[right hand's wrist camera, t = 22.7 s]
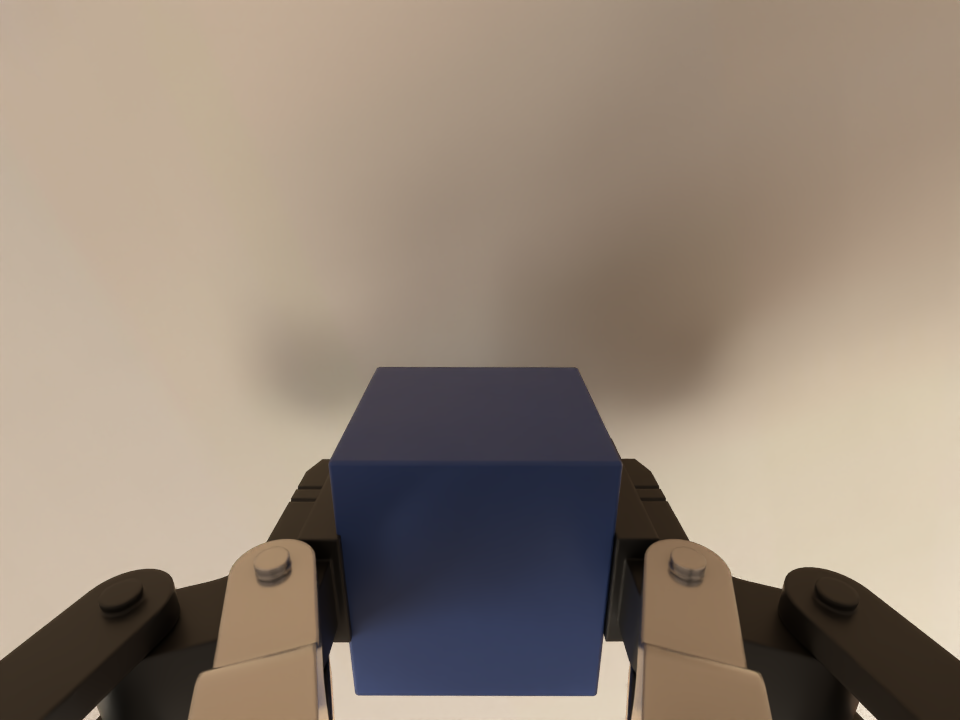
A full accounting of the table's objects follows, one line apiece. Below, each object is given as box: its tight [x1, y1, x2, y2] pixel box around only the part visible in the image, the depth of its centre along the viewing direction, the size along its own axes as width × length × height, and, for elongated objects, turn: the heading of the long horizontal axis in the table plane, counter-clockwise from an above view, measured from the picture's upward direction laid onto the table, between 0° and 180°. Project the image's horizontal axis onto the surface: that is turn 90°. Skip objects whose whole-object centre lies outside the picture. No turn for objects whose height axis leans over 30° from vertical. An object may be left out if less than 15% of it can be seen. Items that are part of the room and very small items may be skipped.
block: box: [328, 367, 623, 696], centre depth 11 cm, size 5×5×4 cm
